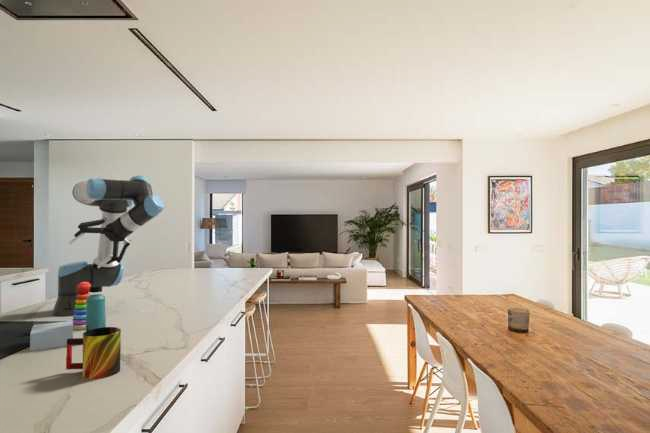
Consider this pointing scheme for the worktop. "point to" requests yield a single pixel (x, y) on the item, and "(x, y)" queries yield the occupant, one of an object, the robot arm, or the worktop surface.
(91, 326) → the beverage bottle
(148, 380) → the worktop surface
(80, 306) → the stacking toy
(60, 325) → the block
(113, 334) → the mug
